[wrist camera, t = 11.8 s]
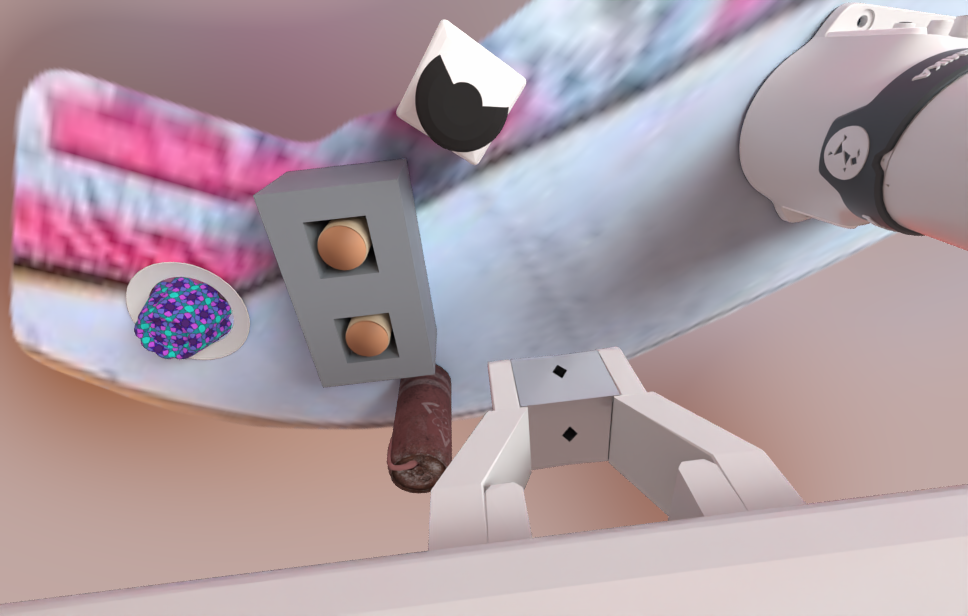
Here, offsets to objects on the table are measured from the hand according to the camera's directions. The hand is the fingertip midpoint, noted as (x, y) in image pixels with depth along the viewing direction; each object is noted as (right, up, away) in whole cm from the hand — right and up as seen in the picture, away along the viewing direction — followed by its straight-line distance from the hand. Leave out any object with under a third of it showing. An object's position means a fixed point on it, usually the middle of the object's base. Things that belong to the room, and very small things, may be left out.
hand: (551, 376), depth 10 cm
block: (-13, +7, +35) cm, 38 cm away
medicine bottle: (-4, +20, +28) cm, 35 cm away
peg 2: (-13, +2, +36) cm, 39 cm away
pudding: (-33, +1, +37) cm, 49 cm away
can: (-9, -7, +43) cm, 45 cm away
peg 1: (-14, +10, +32) cm, 36 cm away
